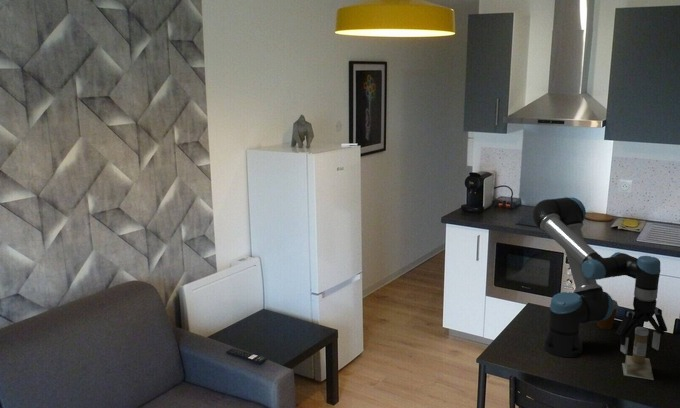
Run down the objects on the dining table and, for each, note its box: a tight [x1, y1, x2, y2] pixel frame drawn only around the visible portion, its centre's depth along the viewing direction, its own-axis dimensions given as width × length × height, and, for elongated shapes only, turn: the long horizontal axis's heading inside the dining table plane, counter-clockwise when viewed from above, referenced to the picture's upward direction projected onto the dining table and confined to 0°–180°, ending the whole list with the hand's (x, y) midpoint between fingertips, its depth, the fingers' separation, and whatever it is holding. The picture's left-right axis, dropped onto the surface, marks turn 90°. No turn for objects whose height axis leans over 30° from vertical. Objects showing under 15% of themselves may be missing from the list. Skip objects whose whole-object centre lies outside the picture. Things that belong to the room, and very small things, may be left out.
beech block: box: [624, 354, 652, 378], centre depth 217 cm, size 8×8×4 cm
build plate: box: [621, 362, 655, 381], centre depth 218 cm, size 10×10×1 cm
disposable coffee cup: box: [596, 298, 619, 330], centre depth 257 cm, size 10×10×12 cm
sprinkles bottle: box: [632, 326, 650, 364], centre depth 215 cm, size 5×5×14 cm
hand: (639, 350), depth 216 cm, fingers open, 13 cm apart
